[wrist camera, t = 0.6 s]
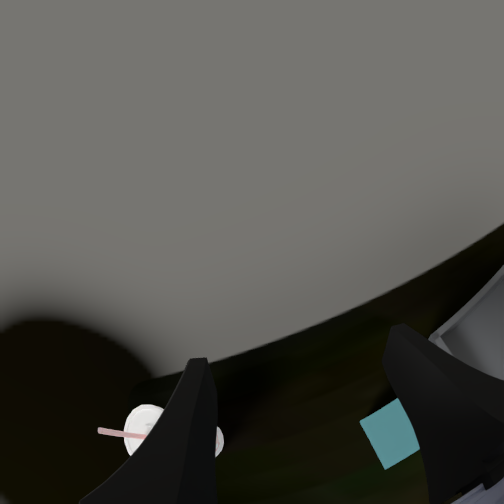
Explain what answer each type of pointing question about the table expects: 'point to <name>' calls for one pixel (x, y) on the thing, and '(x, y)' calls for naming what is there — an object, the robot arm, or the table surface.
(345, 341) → the table surface
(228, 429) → the table surface
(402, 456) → the teal block
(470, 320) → the gray tray
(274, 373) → the table surface
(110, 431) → the beverage cup
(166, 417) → the robot arm
